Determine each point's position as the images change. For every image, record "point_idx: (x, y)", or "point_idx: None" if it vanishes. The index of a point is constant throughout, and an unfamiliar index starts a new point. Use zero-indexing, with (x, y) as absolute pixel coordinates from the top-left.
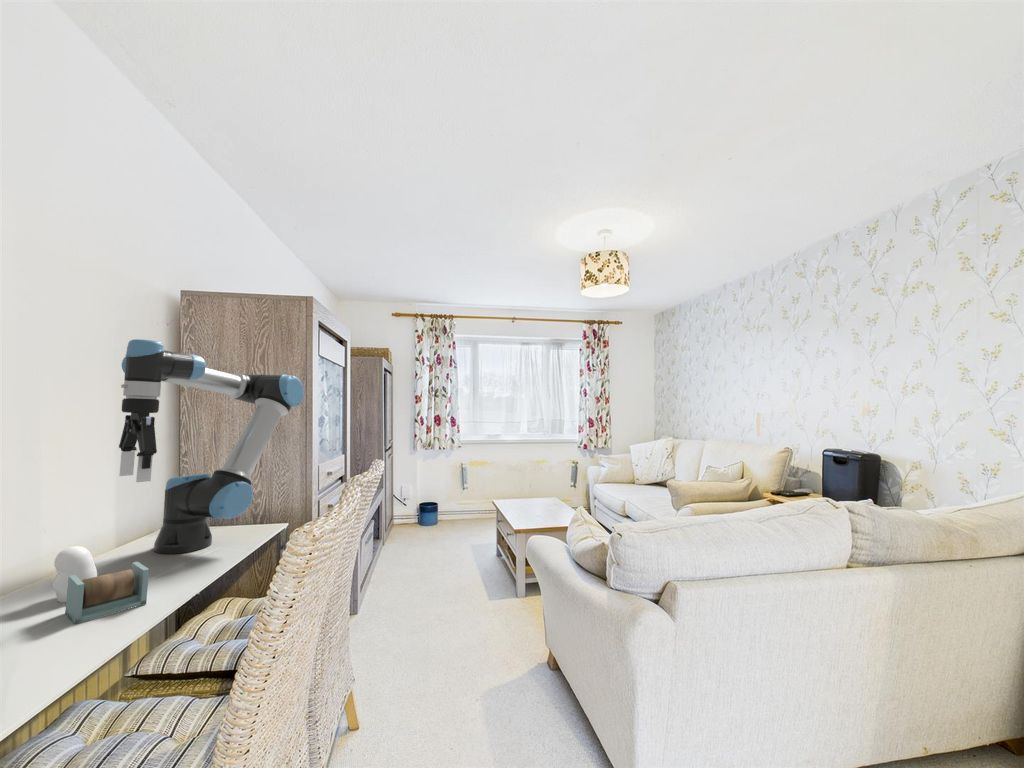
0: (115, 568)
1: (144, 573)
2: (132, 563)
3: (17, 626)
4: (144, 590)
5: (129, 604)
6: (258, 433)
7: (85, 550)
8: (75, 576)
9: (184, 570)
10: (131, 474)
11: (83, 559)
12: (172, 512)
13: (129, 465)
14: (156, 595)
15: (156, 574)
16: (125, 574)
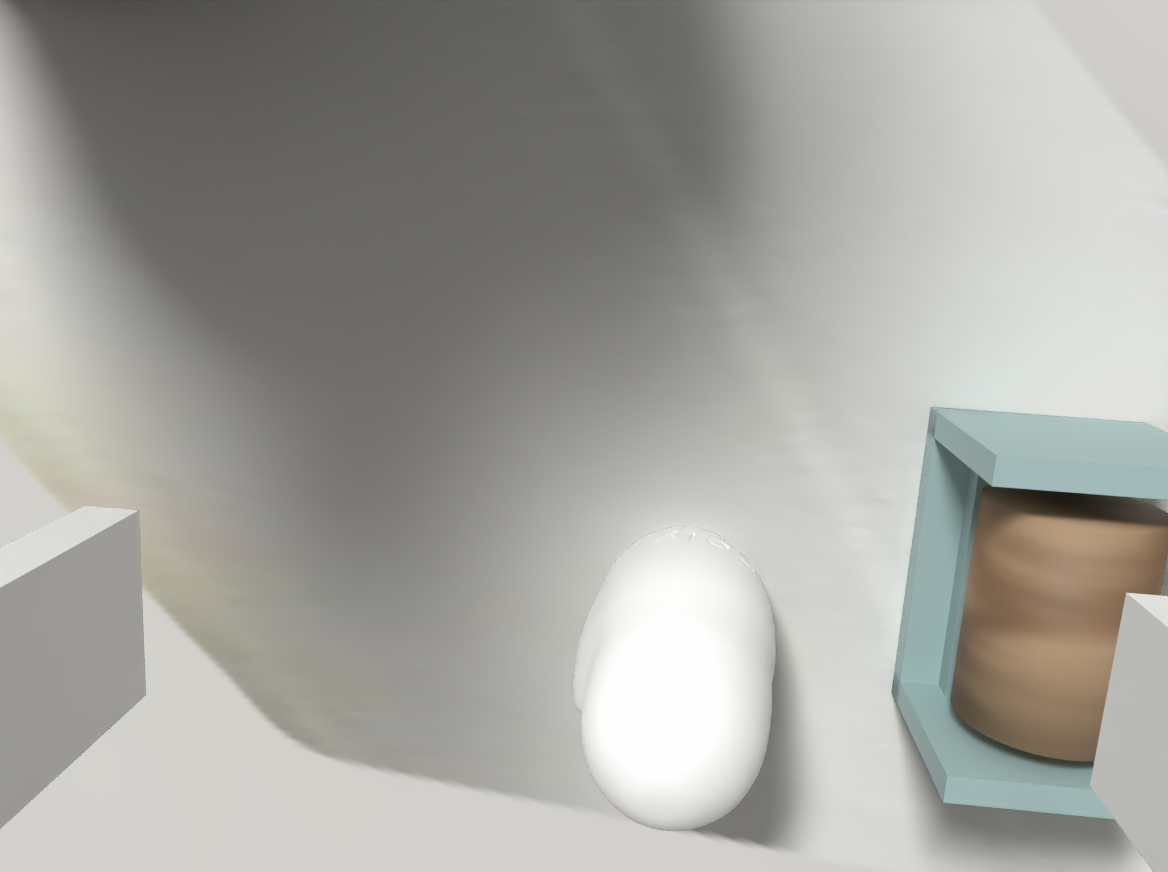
0: (294, 303)
1: None
2: (995, 485)
3: (881, 844)
4: None
5: None
6: None
7: (719, 710)
8: (991, 785)
9: (714, 26)
10: (130, 540)
11: (763, 705)
12: None
13: (21, 665)
14: (1049, 333)
15: (642, 184)
16: (1148, 571)
